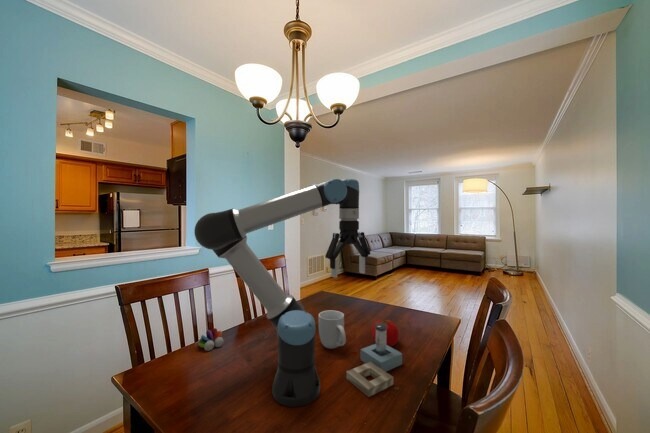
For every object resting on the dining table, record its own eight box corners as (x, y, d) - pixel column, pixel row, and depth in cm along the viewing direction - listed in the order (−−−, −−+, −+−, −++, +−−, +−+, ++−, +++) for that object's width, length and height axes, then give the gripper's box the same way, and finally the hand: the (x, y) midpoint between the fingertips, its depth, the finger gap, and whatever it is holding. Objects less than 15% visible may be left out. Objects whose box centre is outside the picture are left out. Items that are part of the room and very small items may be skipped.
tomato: (394, 354, 107) (394, 328, 107) (367, 346, 112) (367, 322, 112) (401, 341, 117) (401, 318, 117) (376, 335, 123) (376, 313, 123)
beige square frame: (368, 397, 81) (368, 389, 81) (346, 378, 91) (346, 371, 91) (393, 384, 87) (393, 377, 87) (370, 368, 97) (370, 361, 97)
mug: (355, 350, 109) (355, 319, 109) (333, 358, 103) (333, 325, 103) (334, 336, 122) (334, 308, 121) (313, 343, 116) (313, 313, 115)
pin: (381, 366, 98) (381, 328, 98) (372, 361, 102) (372, 324, 102) (389, 362, 100) (389, 325, 100) (380, 357, 104) (380, 321, 104)
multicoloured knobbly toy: (226, 345, 113) (226, 328, 113) (203, 354, 106) (203, 336, 106) (217, 339, 119) (217, 323, 119) (195, 347, 112) (195, 330, 112)
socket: (381, 373, 93) (381, 362, 93) (360, 359, 103) (360, 349, 103) (402, 364, 100) (402, 353, 99) (380, 351, 109) (380, 341, 109)
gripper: (327, 220, 92) (327, 281, 92) (379, 219, 106) (379, 273, 106) (316, 220, 98) (316, 277, 98) (366, 219, 112) (366, 269, 112)
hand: (348, 275), depth 102 cm, fingers open, 13 cm apart
